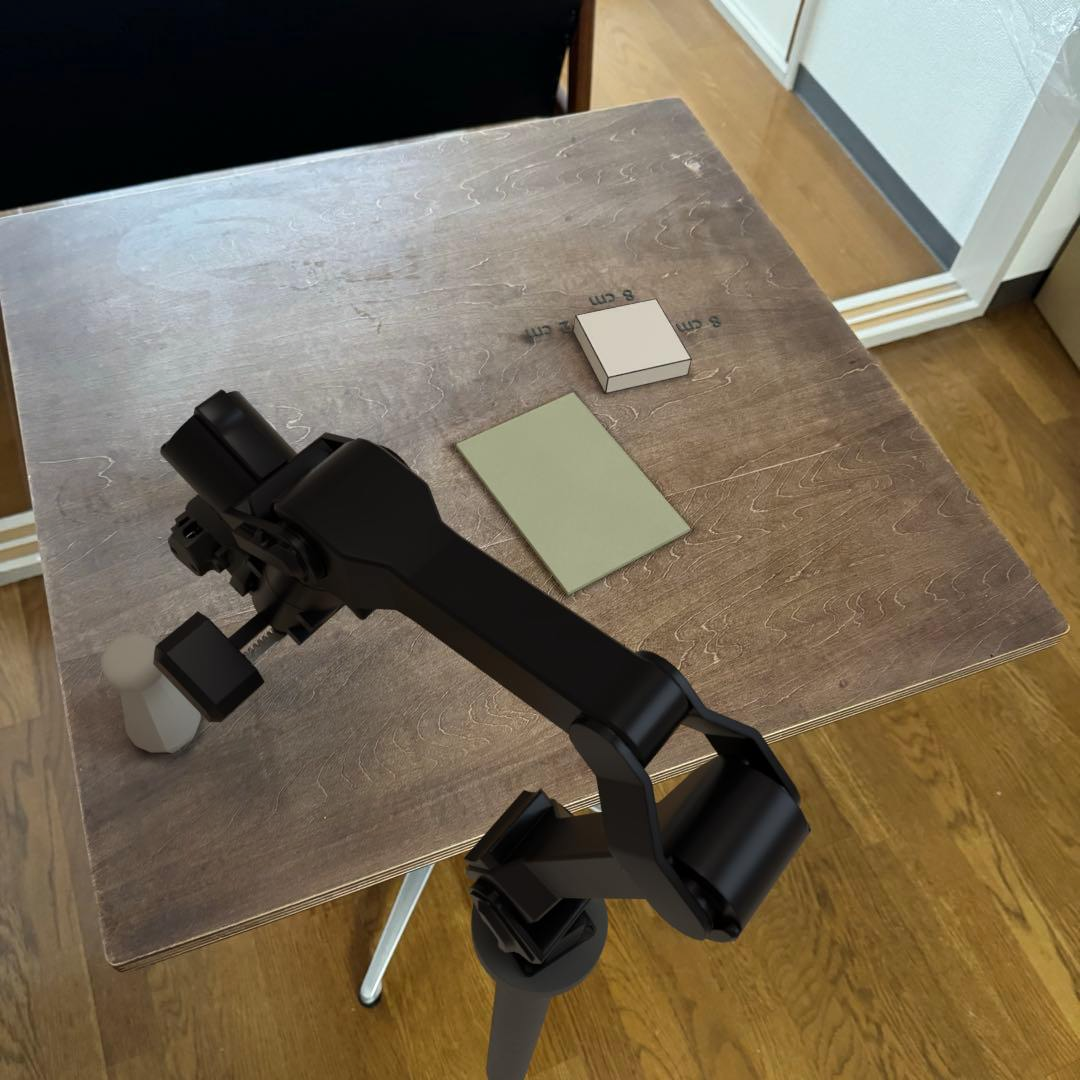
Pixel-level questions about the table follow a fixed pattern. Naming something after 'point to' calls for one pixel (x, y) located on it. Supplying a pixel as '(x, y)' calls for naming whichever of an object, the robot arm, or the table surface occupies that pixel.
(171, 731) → the salt shaker
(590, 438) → the placemat
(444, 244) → the table surface
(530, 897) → the robot arm
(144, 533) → the table surface
